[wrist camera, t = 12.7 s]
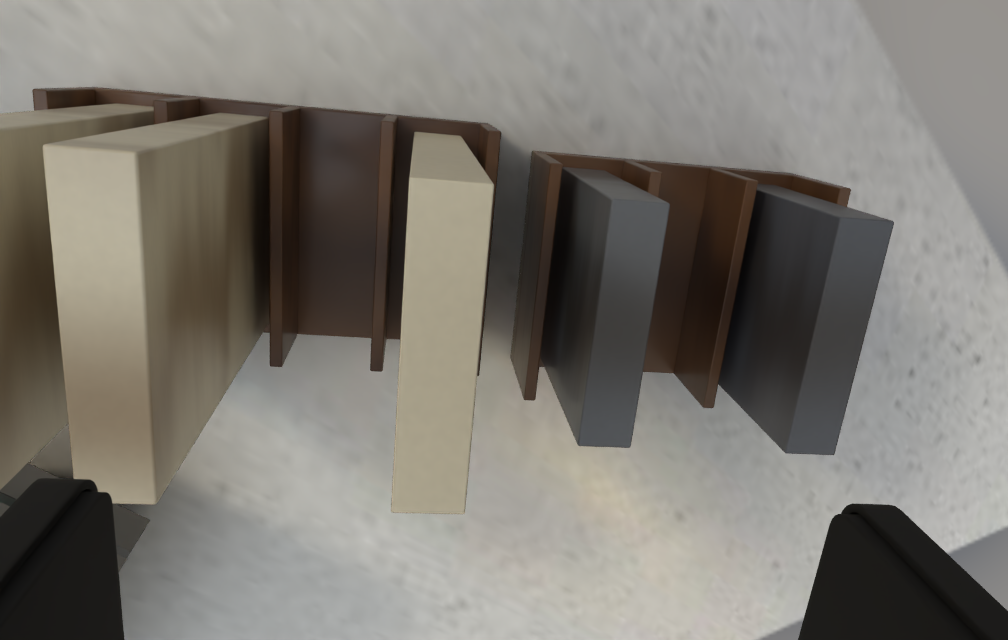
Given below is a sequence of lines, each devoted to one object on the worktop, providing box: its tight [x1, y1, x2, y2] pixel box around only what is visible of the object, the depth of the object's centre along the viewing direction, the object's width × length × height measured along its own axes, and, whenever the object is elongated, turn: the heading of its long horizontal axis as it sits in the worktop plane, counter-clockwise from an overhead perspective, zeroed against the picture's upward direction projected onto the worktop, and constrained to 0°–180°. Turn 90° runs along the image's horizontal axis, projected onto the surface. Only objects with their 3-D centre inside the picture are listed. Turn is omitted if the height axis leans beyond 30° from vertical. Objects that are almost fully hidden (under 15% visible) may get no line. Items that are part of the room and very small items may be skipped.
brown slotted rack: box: [511, 151, 894, 455], centre depth 31 cm, size 10×12×10 cm
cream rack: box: [0, 87, 501, 505], centre depth 25 cm, size 10×16×16 cm, turn 85°
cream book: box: [391, 132, 494, 514], centre depth 26 cm, size 9×2×15 cm, turn 175°
